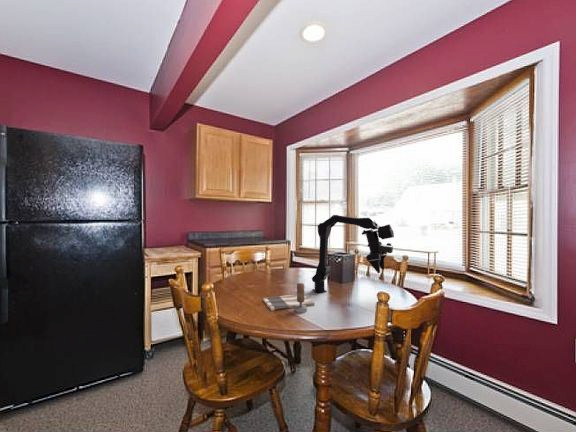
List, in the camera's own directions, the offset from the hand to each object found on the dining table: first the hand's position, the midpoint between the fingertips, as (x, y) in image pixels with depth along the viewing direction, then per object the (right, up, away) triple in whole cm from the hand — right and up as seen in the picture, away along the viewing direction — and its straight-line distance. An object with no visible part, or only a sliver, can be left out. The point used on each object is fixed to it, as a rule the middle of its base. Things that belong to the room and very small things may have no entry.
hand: (381, 271), depth 143 cm
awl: (-42, -16, -13) cm, 46 cm away
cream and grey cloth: (-48, -16, -1) cm, 50 cm away
